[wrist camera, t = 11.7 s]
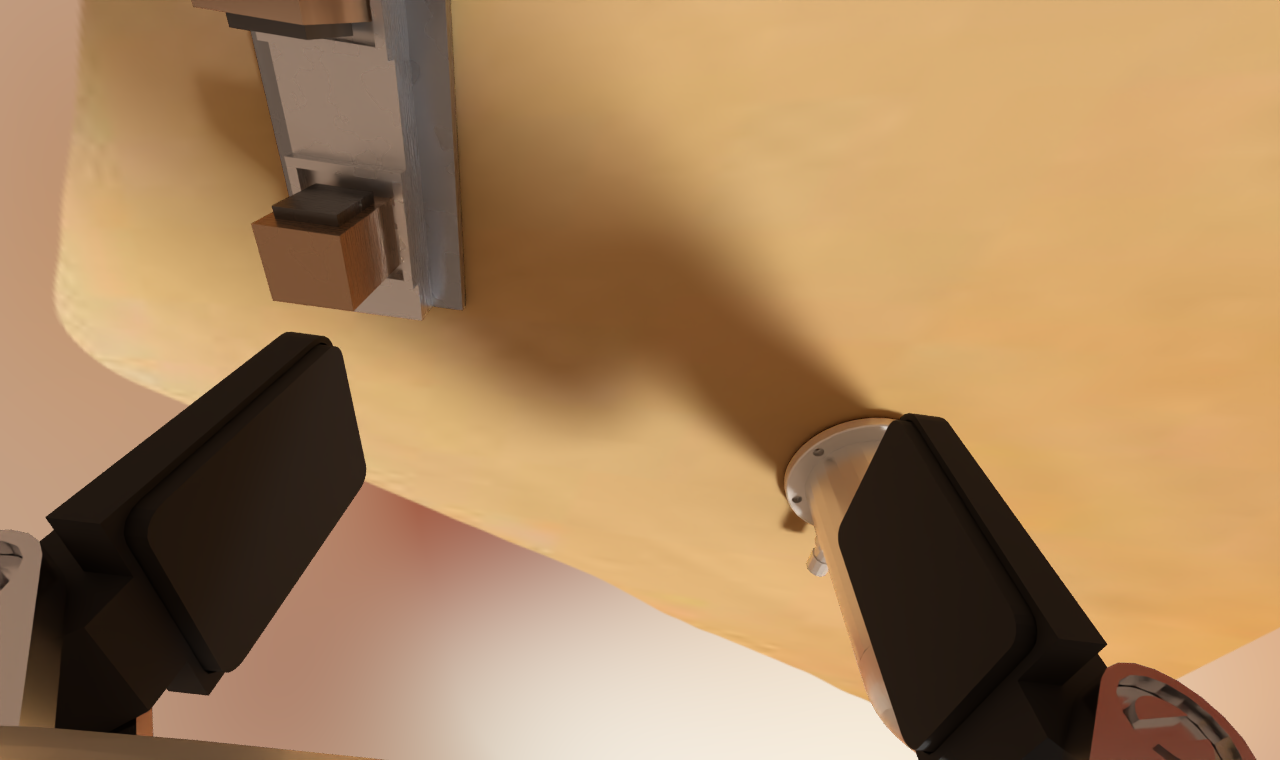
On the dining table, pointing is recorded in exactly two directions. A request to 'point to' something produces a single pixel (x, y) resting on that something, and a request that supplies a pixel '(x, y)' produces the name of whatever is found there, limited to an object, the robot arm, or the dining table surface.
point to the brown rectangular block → (293, 16)
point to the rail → (366, 165)
